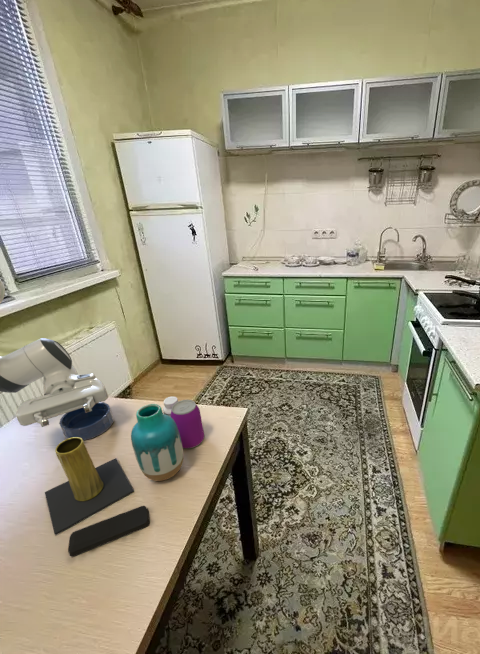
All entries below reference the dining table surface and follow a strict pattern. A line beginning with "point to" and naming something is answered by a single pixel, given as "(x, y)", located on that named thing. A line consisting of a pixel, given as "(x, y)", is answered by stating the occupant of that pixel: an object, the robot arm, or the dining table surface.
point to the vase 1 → (79, 468)
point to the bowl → (87, 421)
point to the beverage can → (188, 423)
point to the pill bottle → (169, 405)
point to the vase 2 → (156, 443)
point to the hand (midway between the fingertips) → (66, 416)
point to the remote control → (108, 530)
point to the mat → (73, 511)
